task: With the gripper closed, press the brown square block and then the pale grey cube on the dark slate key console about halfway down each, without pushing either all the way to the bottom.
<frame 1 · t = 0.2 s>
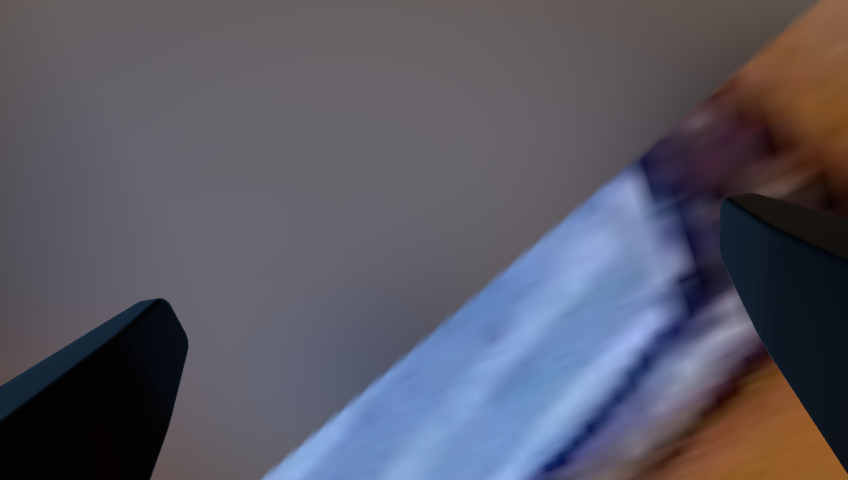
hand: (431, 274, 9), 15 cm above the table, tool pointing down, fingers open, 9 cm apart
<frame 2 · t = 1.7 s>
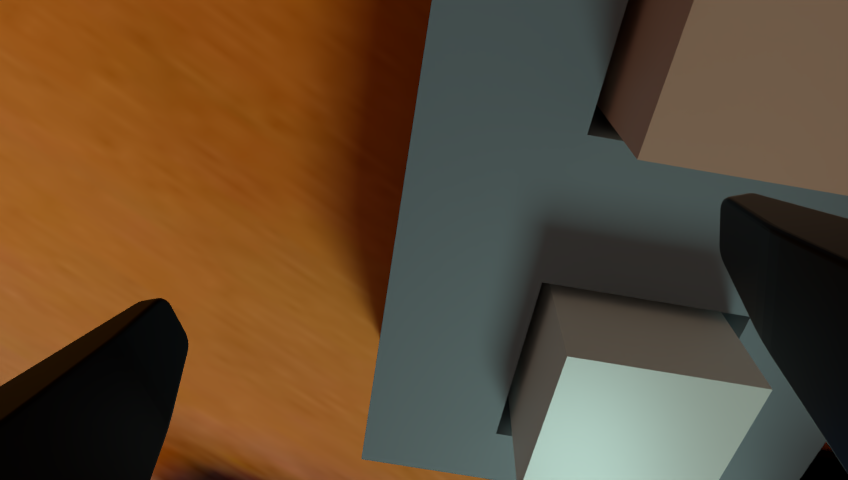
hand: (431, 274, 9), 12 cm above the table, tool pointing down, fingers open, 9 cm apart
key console: (619, 151, 20), on the table
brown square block: (759, 28, 12), point 6 cm above the table, slide at 0.0 cm
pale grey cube: (613, 379, 17), point 6 cm above the table, slide at 0.0 cm
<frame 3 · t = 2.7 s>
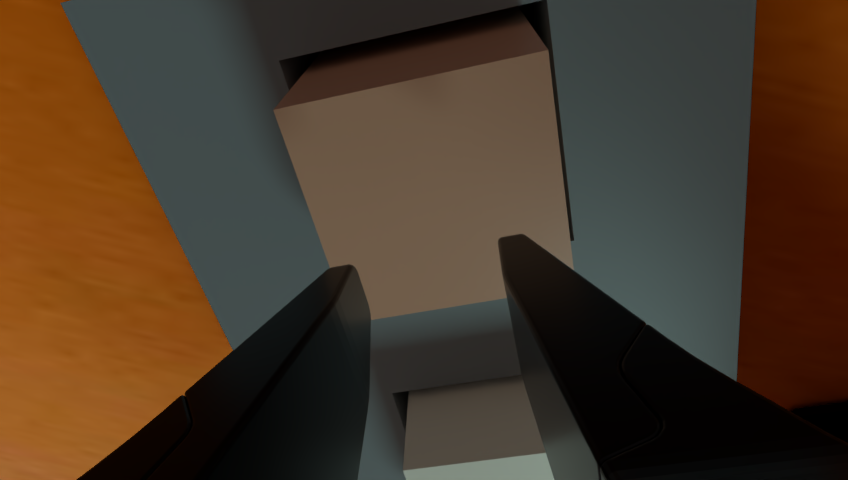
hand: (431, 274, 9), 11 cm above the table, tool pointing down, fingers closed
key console: (467, 220, 21), on the table
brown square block: (437, 157, 14), point 6 cm above the table, slide at 0.0 cm
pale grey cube: (503, 446, 19), point 6 cm above the table, slide at 0.0 cm
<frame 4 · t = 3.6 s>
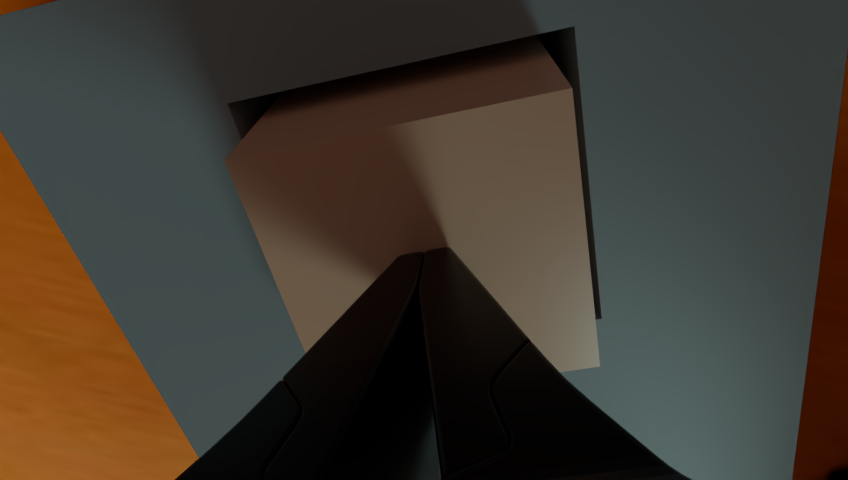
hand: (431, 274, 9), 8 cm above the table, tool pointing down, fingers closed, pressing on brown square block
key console: (469, 267, 18), on the table
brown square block: (432, 203, 12), point 5 cm above the table, slide at 0.8 cm, touching gripper
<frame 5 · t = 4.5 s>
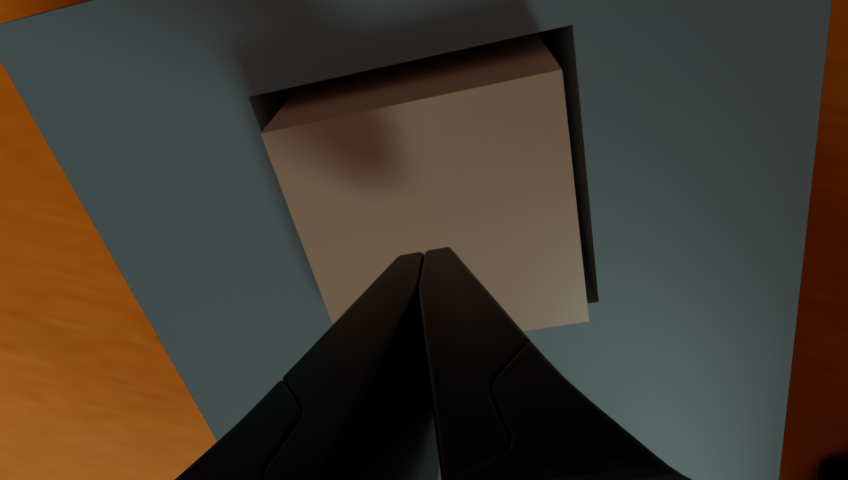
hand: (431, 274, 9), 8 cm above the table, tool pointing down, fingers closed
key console: (472, 258, 19), on the table
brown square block: (439, 178, 13), point 5 cm above the table, slide at 1.4 cm
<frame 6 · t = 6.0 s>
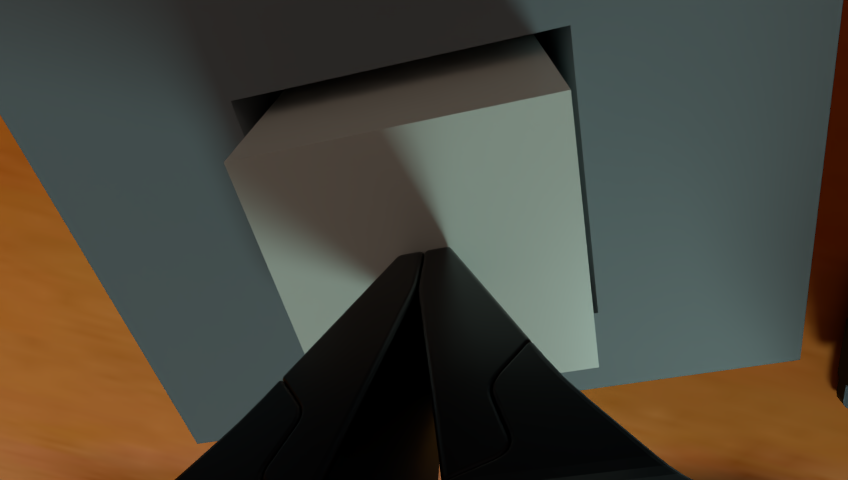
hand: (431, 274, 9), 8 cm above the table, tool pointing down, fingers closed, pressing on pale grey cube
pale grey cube: (431, 204, 12), point 5 cm above the table, slide at 0.5 cm, touching gripper
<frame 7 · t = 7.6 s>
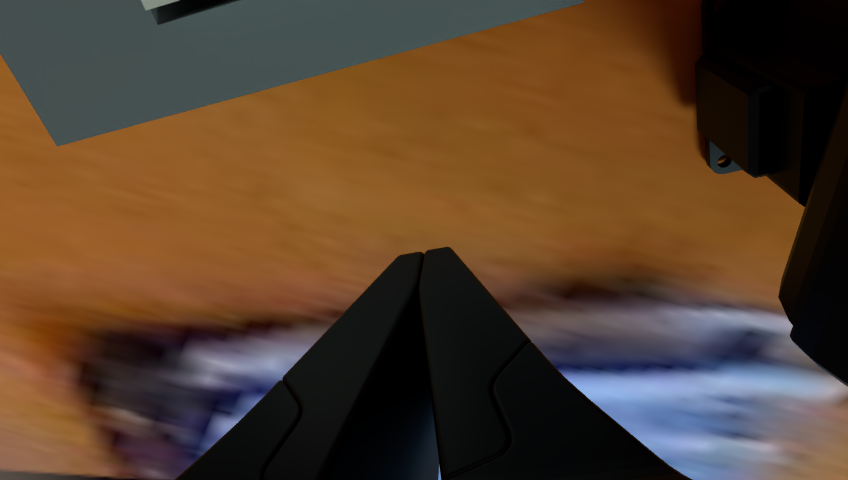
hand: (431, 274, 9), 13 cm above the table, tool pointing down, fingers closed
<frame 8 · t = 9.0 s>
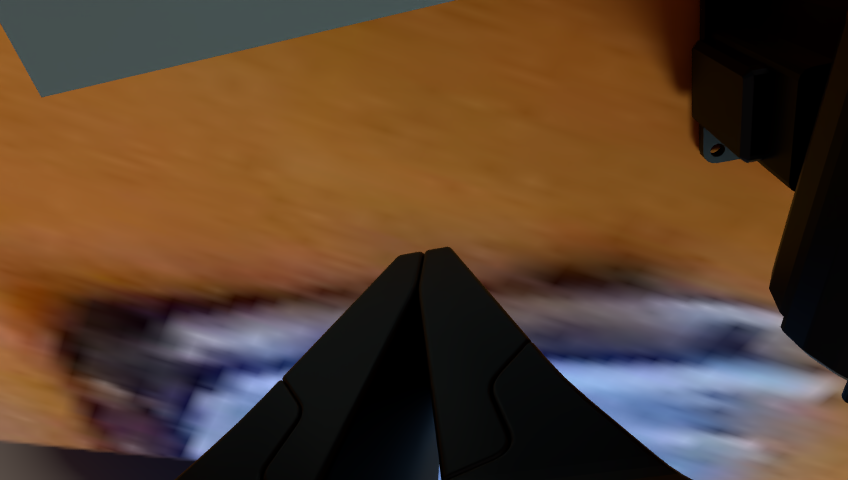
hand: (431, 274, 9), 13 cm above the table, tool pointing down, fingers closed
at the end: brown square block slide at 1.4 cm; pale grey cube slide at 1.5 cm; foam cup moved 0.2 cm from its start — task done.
